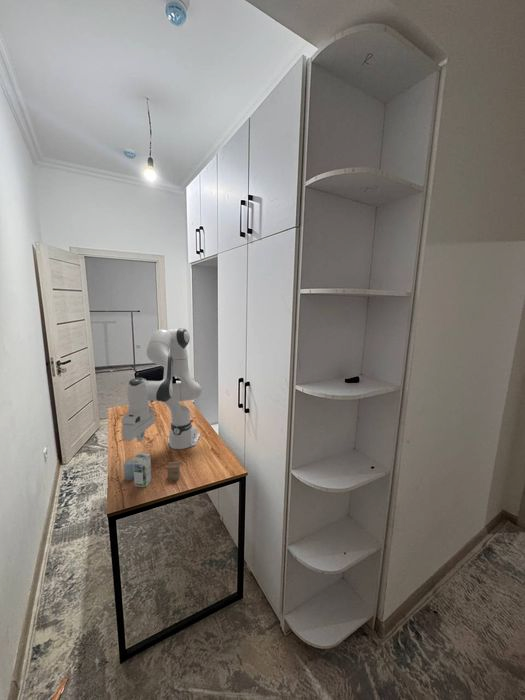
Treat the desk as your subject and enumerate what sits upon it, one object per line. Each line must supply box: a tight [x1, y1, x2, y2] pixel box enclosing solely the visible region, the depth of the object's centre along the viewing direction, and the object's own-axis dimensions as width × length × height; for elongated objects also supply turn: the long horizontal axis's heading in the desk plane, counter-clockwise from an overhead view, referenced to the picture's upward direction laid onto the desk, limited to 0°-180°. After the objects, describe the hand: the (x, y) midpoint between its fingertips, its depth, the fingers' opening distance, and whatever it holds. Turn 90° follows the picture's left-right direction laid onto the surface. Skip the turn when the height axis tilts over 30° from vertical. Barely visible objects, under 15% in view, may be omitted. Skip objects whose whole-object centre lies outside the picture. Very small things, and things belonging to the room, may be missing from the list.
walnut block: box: [166, 461, 180, 482], centre depth 145 cm, size 5×5×7 cm
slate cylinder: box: [123, 459, 134, 482], centre depth 144 cm, size 5×5×8 cm
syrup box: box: [132, 452, 152, 488], centre depth 139 cm, size 6×6×14 cm
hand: (140, 440), depth 137 cm, fingers closed
